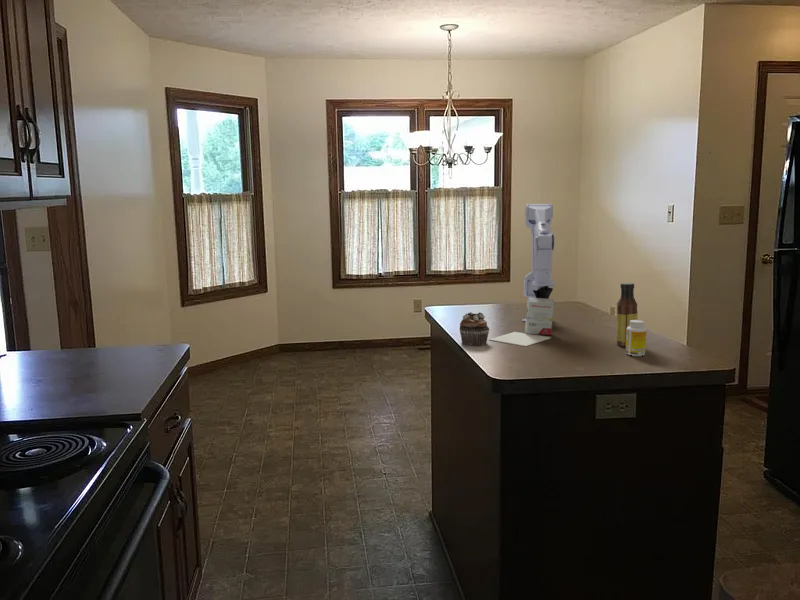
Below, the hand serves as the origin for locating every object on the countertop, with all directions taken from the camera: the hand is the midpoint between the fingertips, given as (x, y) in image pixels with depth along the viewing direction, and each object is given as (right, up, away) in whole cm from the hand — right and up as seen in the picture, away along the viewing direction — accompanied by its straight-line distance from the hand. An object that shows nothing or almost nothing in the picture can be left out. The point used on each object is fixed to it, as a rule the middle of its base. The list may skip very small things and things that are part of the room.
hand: (542, 308), depth 223 cm
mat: (-9, -10, -9) cm, 16 cm away
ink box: (-2, -8, -1) cm, 8 cm away
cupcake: (-25, -11, -14) cm, 31 cm away
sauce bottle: (+23, -12, -18) cm, 31 cm away
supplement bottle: (+21, -14, -30) cm, 39 cm away
